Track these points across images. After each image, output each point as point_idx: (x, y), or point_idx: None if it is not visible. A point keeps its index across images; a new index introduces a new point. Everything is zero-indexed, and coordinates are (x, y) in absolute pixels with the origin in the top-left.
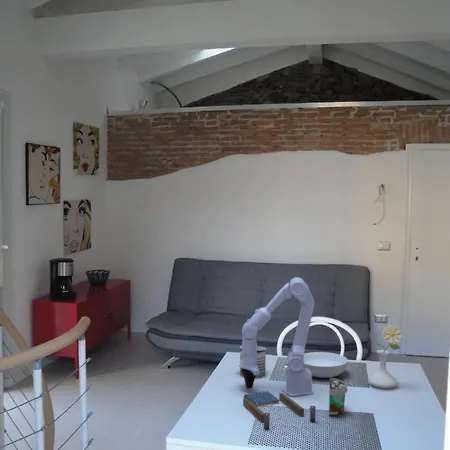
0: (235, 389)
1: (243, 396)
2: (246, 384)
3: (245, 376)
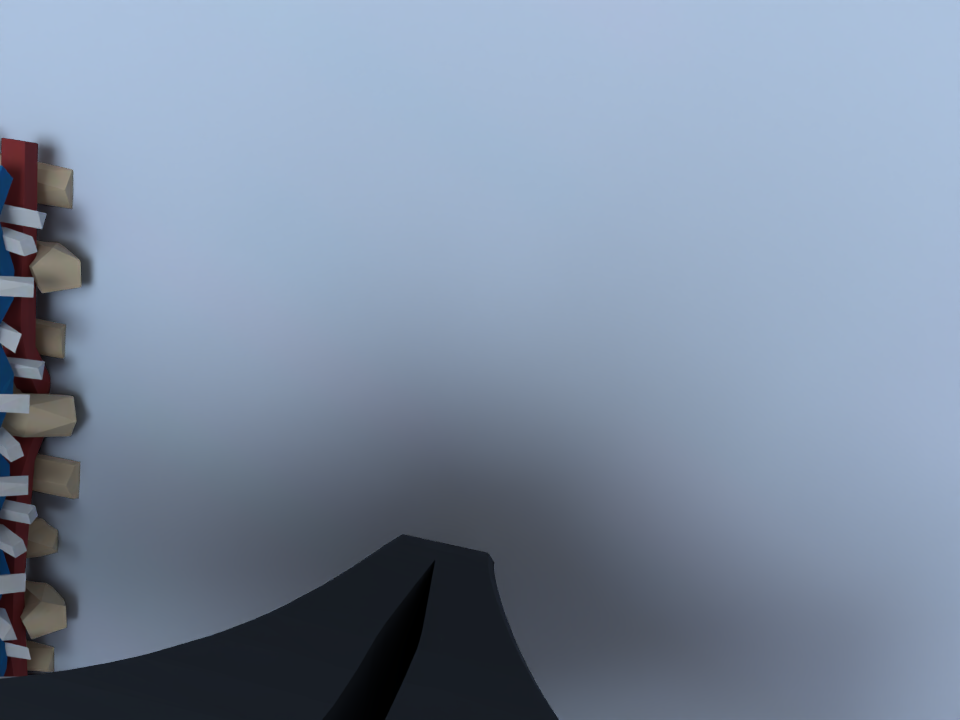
0: (718, 315)
1: (16, 140)
2: (386, 568)
3: (206, 682)
